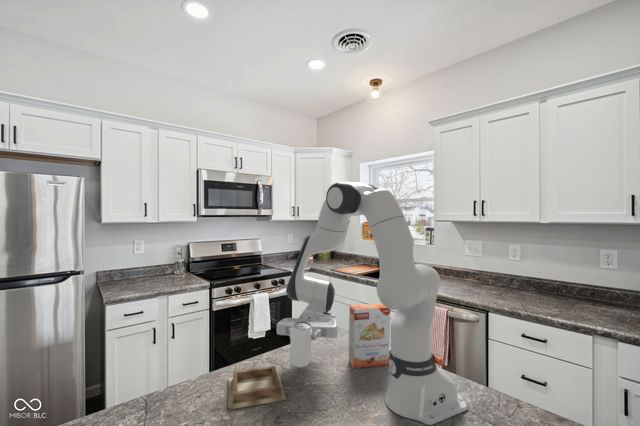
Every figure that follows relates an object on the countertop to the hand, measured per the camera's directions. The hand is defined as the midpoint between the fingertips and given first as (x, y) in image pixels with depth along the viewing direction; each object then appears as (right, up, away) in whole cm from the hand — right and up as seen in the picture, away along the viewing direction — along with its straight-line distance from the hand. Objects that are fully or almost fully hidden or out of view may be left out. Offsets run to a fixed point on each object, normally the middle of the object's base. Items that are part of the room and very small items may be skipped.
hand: (302, 336), depth 92 cm
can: (-1, -9, +1) cm, 9 cm away
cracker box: (+23, -17, +17) cm, 33 cm away
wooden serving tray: (-14, -16, 0) cm, 21 cm away
